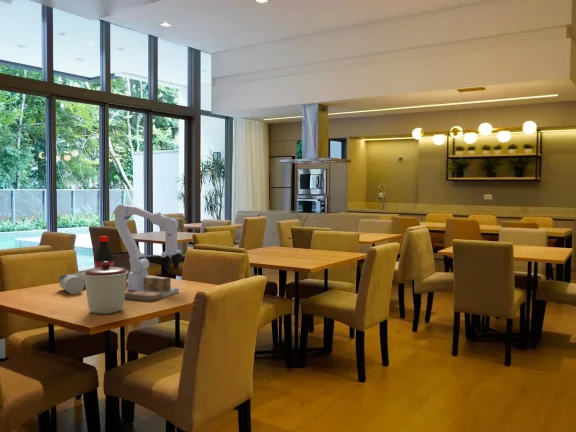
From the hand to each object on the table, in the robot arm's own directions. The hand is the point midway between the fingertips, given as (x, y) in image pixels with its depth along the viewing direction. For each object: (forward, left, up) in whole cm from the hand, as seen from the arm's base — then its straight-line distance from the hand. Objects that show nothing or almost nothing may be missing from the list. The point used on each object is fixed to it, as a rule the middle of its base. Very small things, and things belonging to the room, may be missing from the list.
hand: (171, 269), depth 262 cm
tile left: (-5, -20, -10) cm, 23 cm away
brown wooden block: (-2, -10, -8) cm, 13 cm away
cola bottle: (-12, -35, -11) cm, 38 cm away
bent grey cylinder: (-45, -16, -11) cm, 49 cm away
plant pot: (-39, +8, -11) cm, 41 cm away
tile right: (+2, -20, -10) cm, 23 cm away
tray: (-2, -21, -10) cm, 24 cm away
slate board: (-2, -10, -10) cm, 15 cm away
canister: (0, -48, -11) cm, 49 cm away
